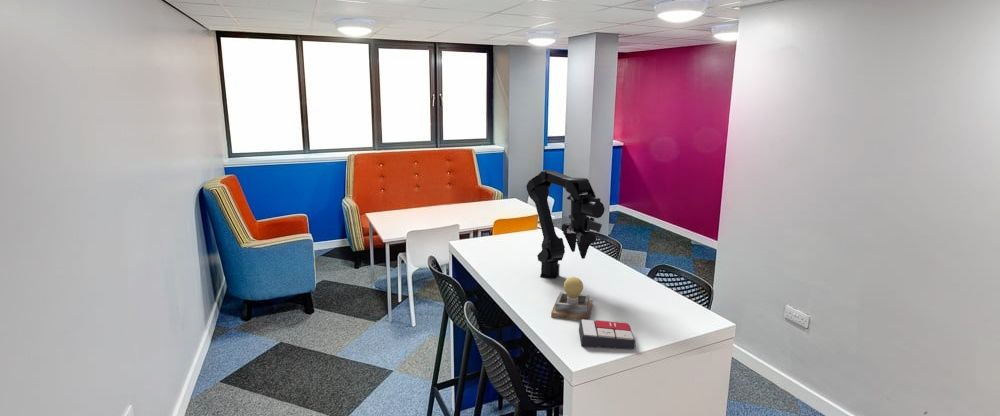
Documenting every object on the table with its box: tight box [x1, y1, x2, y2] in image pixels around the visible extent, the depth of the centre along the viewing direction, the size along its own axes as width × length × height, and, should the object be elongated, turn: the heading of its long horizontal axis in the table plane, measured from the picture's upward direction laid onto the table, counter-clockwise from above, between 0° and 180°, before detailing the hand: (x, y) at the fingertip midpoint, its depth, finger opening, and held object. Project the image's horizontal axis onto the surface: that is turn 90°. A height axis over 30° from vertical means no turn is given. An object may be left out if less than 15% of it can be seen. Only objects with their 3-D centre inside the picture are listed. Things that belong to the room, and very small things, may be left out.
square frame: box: [550, 291, 594, 321], centre depth 172 cm, size 12×14×4 cm
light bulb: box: [563, 276, 584, 305], centre depth 171 cm, size 6×6×10 cm
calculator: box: [578, 319, 636, 350], centre depth 152 cm, size 11×4×15 cm
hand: (578, 255), depth 189 cm, fingers open, 9 cm apart
